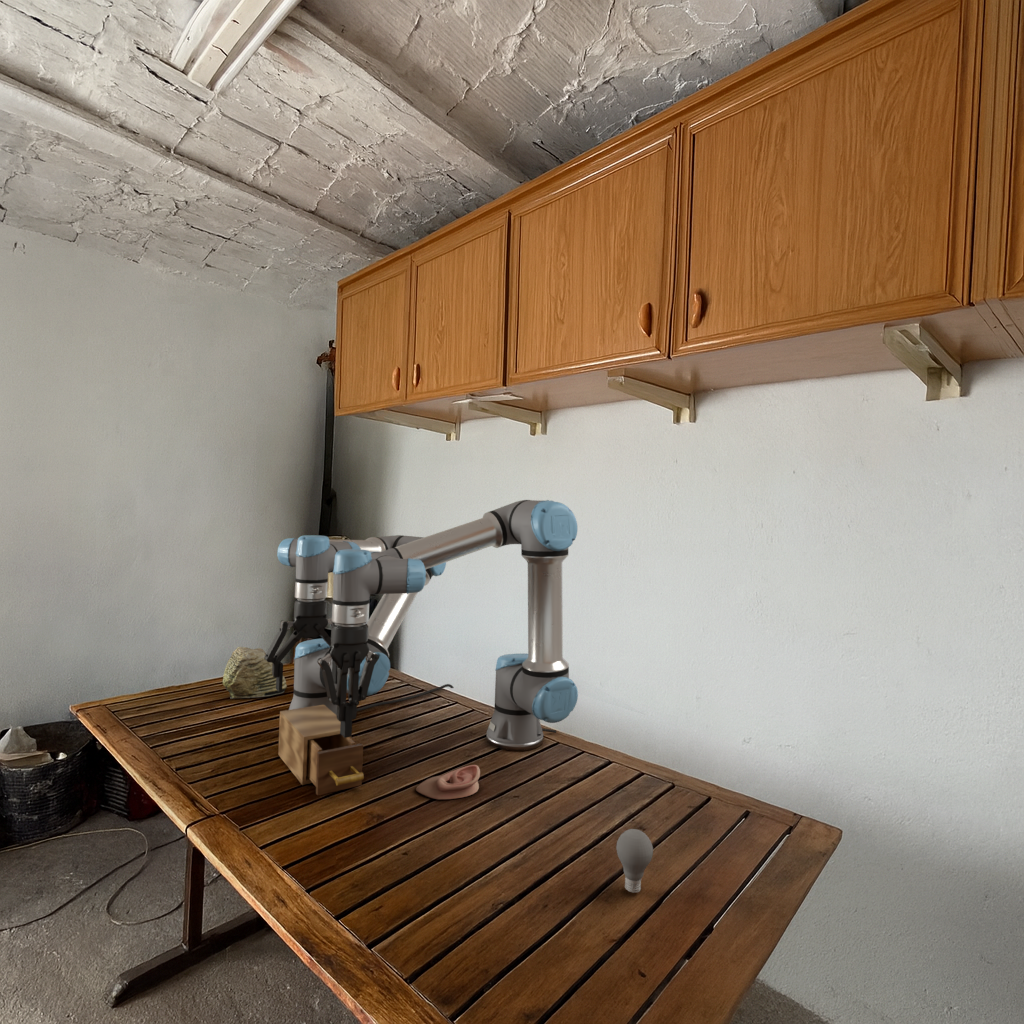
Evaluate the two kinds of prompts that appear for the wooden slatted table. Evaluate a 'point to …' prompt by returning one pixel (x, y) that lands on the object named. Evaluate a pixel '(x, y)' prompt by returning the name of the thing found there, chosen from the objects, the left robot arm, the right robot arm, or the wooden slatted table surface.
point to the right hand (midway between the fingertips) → (345, 735)
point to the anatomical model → (452, 784)
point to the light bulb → (634, 857)
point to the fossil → (250, 674)
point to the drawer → (334, 763)
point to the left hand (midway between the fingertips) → (307, 686)
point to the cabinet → (303, 735)
